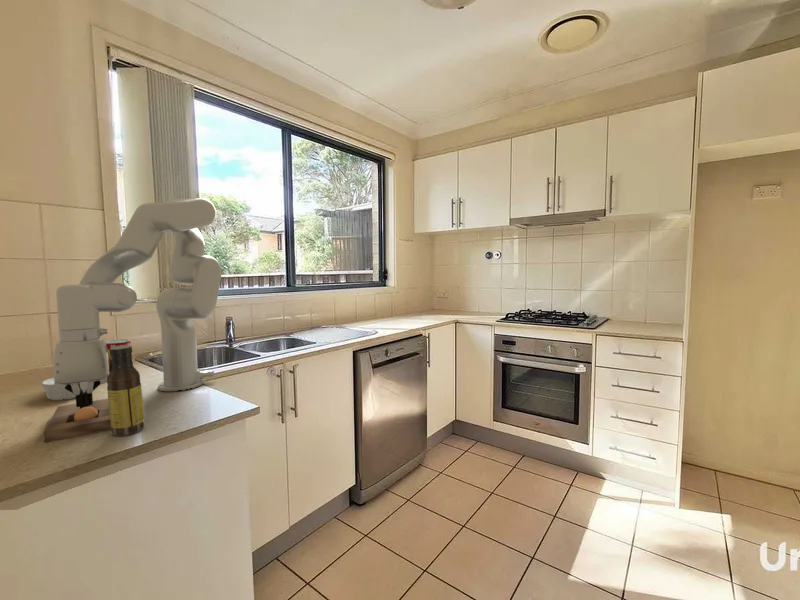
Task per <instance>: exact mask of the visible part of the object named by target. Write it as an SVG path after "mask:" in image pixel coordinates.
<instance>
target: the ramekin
mask: <svg viewBox="0 0 800 600" xmlns="http://www.w3.org/2000/svg"><path fill="white" fill-rule="evenodd" d="M54 382H55V381H54V377H51V378H48V379H45V380H44V381H42V382H41V386H42V387H43V388H44V393H45V397H47V399H49V400H50V399H51V400H50V401H64V400H63V399H67V400H70V399H69V398H72V399H76V398H75V397H76V395H74V394H73V393H71V392H70V391H68V390H66V389H64V390H63V389H54V388H53V386H54ZM79 383H80V386H81V389H82V390H83V392H84V393H85V390H86V389H87V383H88V381H86V382H79Z"/></svg>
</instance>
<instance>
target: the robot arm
mask: <svg viewBox="0 0 800 600" xmlns="http://www.w3.org/2000/svg"><path fill="white" fill-rule="evenodd" d="M216 216H217V210H216V207H215V205H214V204H213V202H211V201H210V200H208V199H207V198H203V197H191V198H190V197H189V198H177V199H171V200H168V201H164V202H163V201H162V202H160V201H159V202H146V203H142V204H140V205H139V206H138V207H137V208H136V209H135V210H134V212H133V214H132V215H131V217H130V218H129V219H130V220H129V222H128V223H127V224H126V227H125V228H124V229H123V232H122V233H121V236H120V238H119V239H118V241H117V243H116V244H115V245H114V246H113V247H111V248H109V249H108V250H107V251H106V252H105V253H104V254H102V255H101V256H100V257H99V258H98V259H96V260H95V261H94V262H93V263H92V264H91V265H90V266H89V268H88V269H87V270H85V271H86V272H85V273H84V275H83V276H82V279H81V280H80V281H79V284H63V285H59V286H58V287H57V289H56V295H55V298H56V309H57V310H56V311H57V324H58V335H59V336H58V337H59V339H58V340H59V341H57V342H55V346H54V353H53V378H54V381H55V382H54V386H53V388H54V389H63V390H64V389H66V390H68V391H70V392H71V393H73V394H74V395H76V398H75V404H76V407H80V409H81V408H83V407H90V405H93V401H94V400H93V399H94V398H93V392H94V391H95V390H96V389H97V388H98V387H99V386H100V385H103V384H107V377H108V375H109V358H108V351H107V346H106V342H105V341H106V339H105V338H103V337H102V336H104V335H108V328H102V327H101V324H100V312H101V313H103V312H104V313H105V312H109V313H111V312H113V313H114V312H115V313H117V312H118V313H120V312H125V311H127V310H130V309H131V308H133V307H134V306H135V304H136V303H137V299H138V295H137V292H136V290H134V288H133V287H132V286H130V285H127V284H125V283H121V282H119V283H118V282H116V281H117V279H119V277H121V276H122V275H123V274H124V273H126V272H128V271H130V270H131V269H134V268H136V267H138V266H142V265H143V264H144V263H147V262H148V261H150V260H151V258H153V256H154V254H155V251H156V249H157V248H158V245H159V244H160V241H161V239H162V237H163V236H164V234H165V233H173V235H174V247H173V250H172V254H171V258H170V259H171V260H170V264H169V269H168V276H169V279H170V281H172V282H173V283H175V284H177V285H185V286H186V285H187V286H192V288H189V287H188V288H187V287H172V288H167V289H164V290H162V291H161V292H160V293H159V294H158V296H157V298H156V302H155V306H156V311H157V315H158V318H159V322H160V329H161V331H160V332H161V349H162V350H161V352H162V356H161V357H162V371H163V372H162V373H163V381H162V382H160V383H158V385H157V388H158V390H159V391H162V392H179V391H178V390H182V391H187V390H186V389H188V390H191V389H190V388H192V389H196V388H198V387H201V386H202V385H204V383H205V382H204V378H210V377H215V371H214V370H207V369H206V370H202V371H201V370H200V369H199V368H198V366H199V365H198V345H197V329H196V328H197V327H196V325H195V323H194V321H193V319H194V320H196V319H197V320H204V319H207V318H209V317H210V316H212V314H213V313H214V311H215V309H216V306H217V301H218V298H219V297H218V296H219V291H220V286H221V280H222V268H221V267H222V266H221V265H220V262H219V261H218V260H217V259H216V258H215V257H213V256H211V255H206V254H205V255H204V252H205V241H204V237H203V235H202V232H200V230H199V229H198V228H203V227H206V226H209V225H211V224H213V223H214V221H215V220H216ZM86 381H88V383H87V389H86V390H85V393H84V392H83V390H82V389H81V386H80V383H79V382H86Z"/></svg>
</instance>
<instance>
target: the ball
mask: <svg viewBox="0 0 800 600" xmlns="http://www.w3.org/2000/svg"><path fill="white" fill-rule="evenodd" d="M97 417H98V411H97V410H96V409H95V408H93V407H83V408H81V409H79V410H78V411H77V412H76V413H75V415H74V420H75V421H81V420H86V419H92V418H97Z"/></svg>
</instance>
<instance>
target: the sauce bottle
mask: <svg viewBox="0 0 800 600" xmlns="http://www.w3.org/2000/svg"><path fill="white" fill-rule="evenodd" d="M132 353H133V346H132V345H131V346H117V347H113V348H110V355H111V359H112V370H111V372H110V374H109V375H108V377H107V383H106V384H107V388H106V389H107V390H106V391H107V399H108V402H109V412H110V421H111V427H112V429H111V434H112V435H113V436H116V437H126V435H127V436H130V435H134V434H137V433H138V432H140V431H142V430H143V429H144V427H145V422H144V420H145V414H144V413H145V411H144V404H143V402H144V401H143V392H142V391H143V390H142V388H143V387H142V383H141V375H140V372H139V371H138V370H137V368H136V367H135V366H134V362H133V356H132Z"/></svg>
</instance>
